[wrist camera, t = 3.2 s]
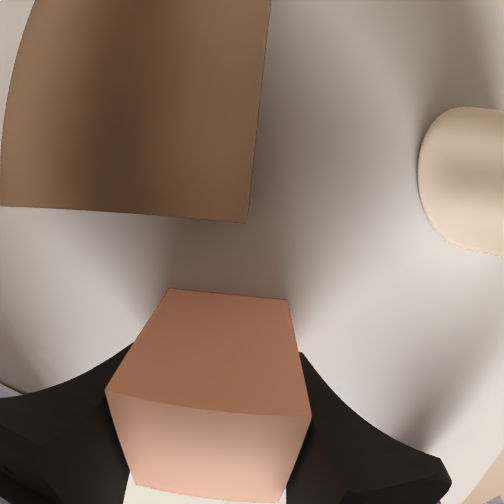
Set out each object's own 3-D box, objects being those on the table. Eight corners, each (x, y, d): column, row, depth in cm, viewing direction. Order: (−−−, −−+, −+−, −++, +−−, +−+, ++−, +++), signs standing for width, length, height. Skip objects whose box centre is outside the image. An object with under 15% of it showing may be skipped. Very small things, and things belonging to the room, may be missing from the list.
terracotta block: (172, 377, 12) (136, 484, 7) (169, 288, 11) (104, 389, 5) (271, 388, 13) (278, 502, 7) (286, 299, 11) (312, 416, 6)
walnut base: (45, 195, 11) (-1, 206, 8) (74, 11, 8) (40, -13, 5) (248, 208, 11) (245, 223, 8) (272, -7, 8) (276, -49, 6)
